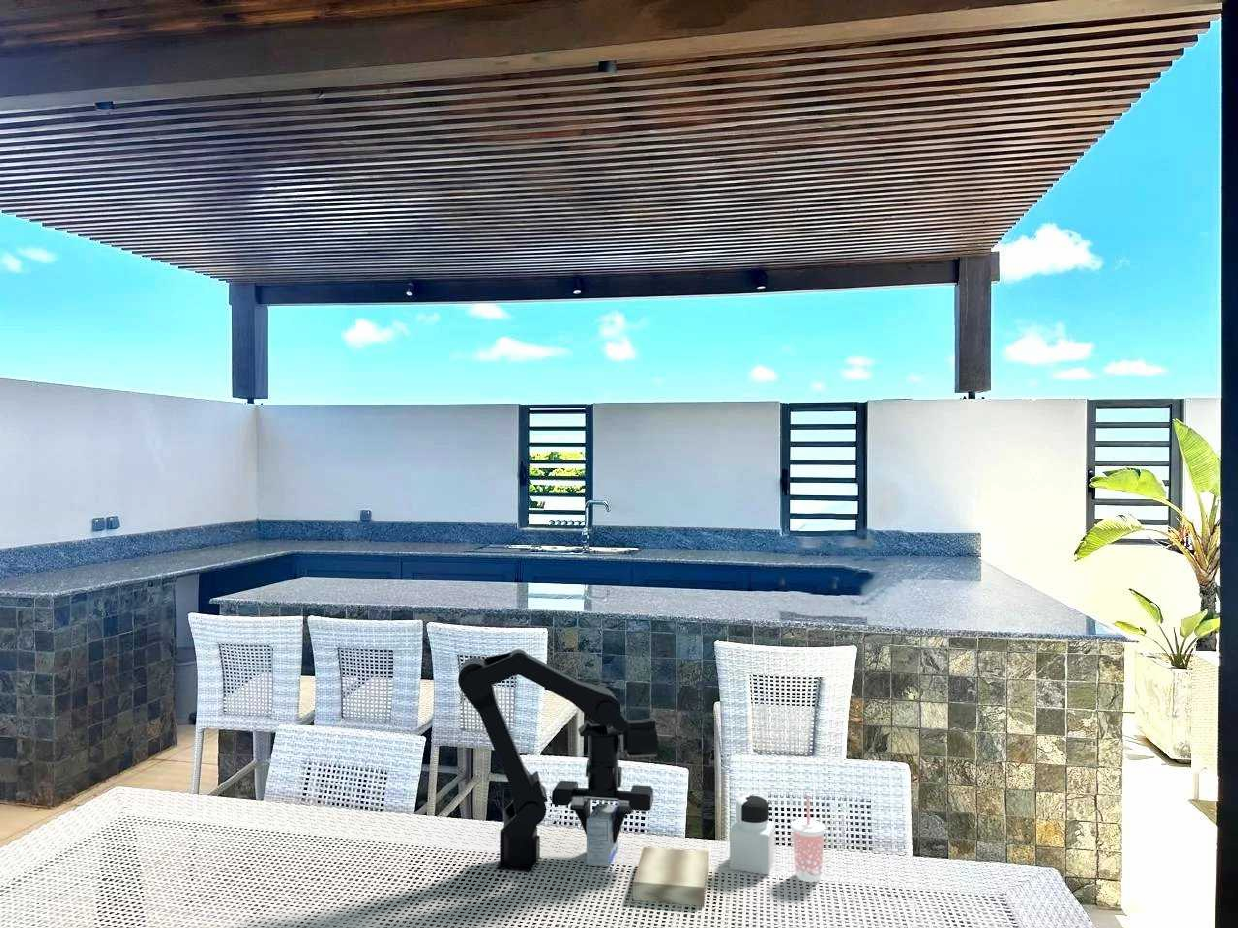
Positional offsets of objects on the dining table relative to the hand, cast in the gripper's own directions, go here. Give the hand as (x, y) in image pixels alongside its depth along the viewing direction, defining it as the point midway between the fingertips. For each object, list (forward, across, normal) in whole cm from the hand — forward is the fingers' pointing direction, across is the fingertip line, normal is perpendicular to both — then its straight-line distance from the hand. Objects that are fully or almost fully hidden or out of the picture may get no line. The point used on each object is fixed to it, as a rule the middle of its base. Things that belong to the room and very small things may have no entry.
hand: (602, 841), depth 151 cm
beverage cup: (+3, -38, +1) cm, 38 cm away
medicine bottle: (+3, -28, -2) cm, 28 cm away
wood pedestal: (+3, -14, +8) cm, 16 cm away
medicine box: (+3, 0, 0) cm, 3 cm away
